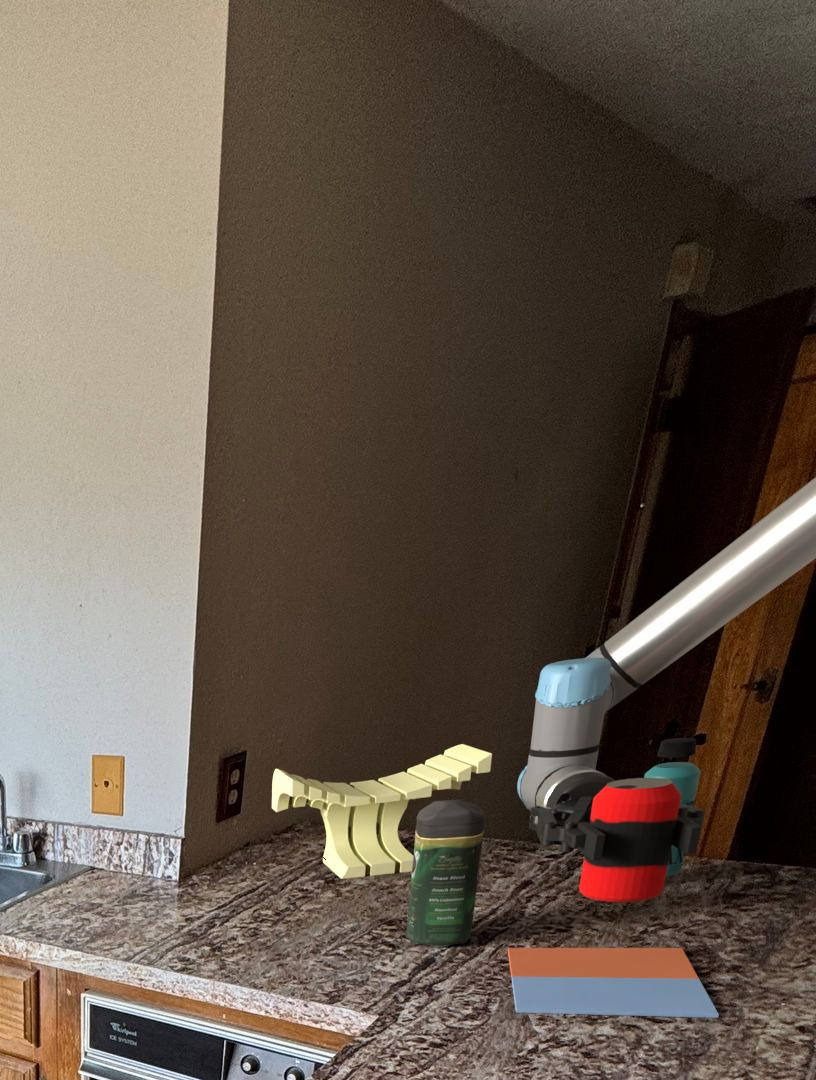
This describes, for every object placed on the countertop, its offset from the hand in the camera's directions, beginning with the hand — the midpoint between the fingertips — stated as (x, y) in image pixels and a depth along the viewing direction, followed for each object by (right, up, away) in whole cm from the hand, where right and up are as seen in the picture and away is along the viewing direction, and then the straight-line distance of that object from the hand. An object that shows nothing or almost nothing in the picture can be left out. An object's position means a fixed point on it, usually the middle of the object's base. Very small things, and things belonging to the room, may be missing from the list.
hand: (645, 844), depth 104 cm
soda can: (+3, -4, +7) cm, 8 cm away
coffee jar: (-2, -4, +34) cm, 35 cm away
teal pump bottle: (+34, +5, +41) cm, 54 cm away
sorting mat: (+5, -13, +13) cm, 19 cm away
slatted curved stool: (+8, +15, +72) cm, 74 cm away
